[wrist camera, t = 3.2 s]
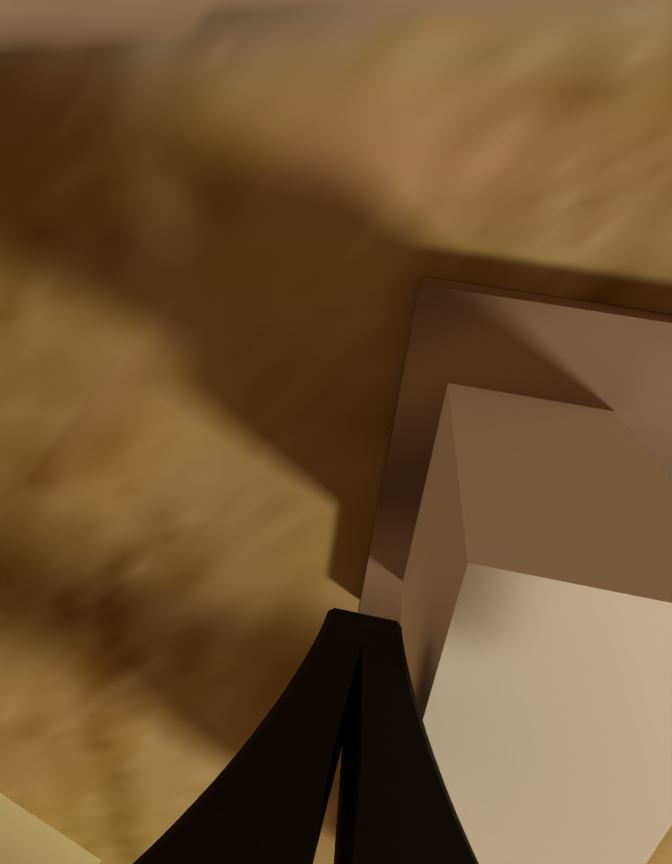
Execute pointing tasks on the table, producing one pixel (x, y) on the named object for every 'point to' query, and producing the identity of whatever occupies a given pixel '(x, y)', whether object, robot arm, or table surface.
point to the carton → (544, 629)
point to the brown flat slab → (510, 389)
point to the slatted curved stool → (35, 840)
